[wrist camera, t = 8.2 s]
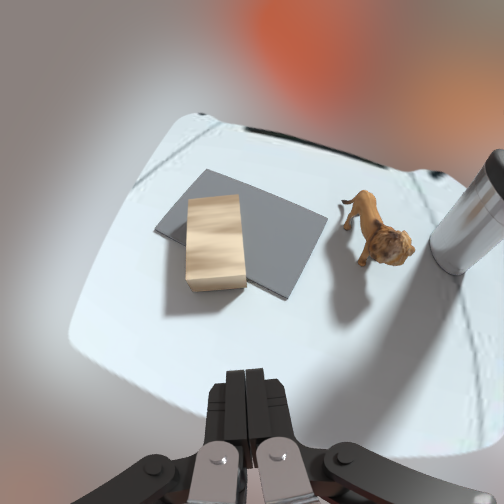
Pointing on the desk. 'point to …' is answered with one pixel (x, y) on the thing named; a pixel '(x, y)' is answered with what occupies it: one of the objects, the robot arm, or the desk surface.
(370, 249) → the lion figurine
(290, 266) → the slate mat
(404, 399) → the desk surface
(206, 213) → the birch block
